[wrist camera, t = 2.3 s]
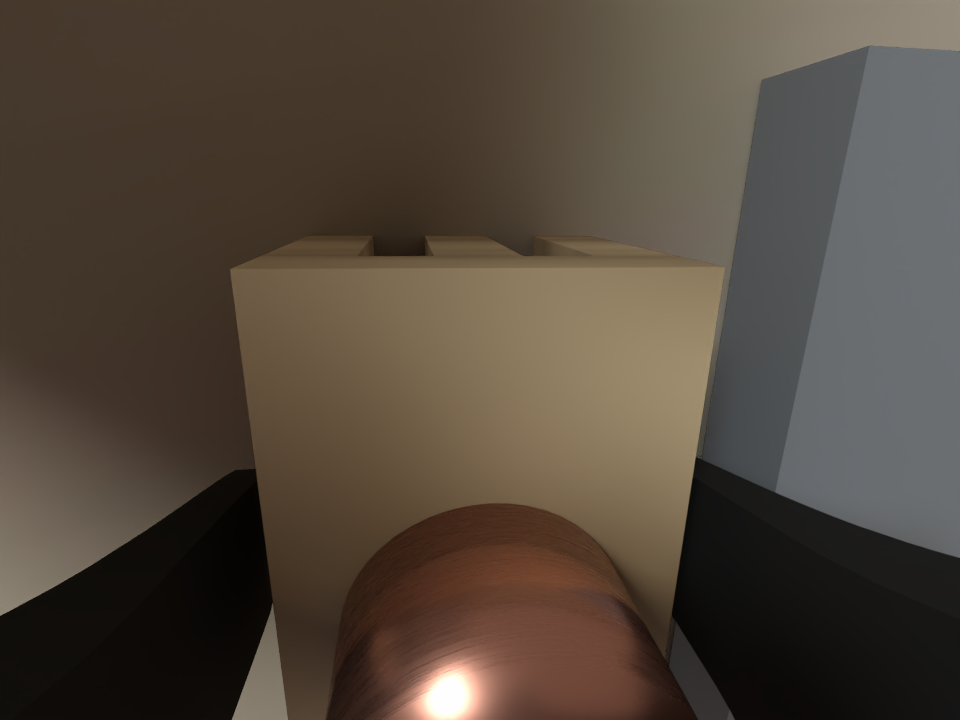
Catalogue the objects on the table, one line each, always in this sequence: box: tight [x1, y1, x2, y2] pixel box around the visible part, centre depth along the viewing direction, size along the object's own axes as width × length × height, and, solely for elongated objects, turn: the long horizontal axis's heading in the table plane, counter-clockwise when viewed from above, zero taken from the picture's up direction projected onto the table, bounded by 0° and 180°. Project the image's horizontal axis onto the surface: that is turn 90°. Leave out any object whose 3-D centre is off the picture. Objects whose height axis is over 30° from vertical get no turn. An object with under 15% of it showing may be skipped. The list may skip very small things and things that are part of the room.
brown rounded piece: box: [325, 503, 698, 720], centre depth 6 cm, size 4×4×2 cm
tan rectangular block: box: [230, 235, 725, 720], centre depth 10 cm, size 10×6×5 cm, turn 179°
